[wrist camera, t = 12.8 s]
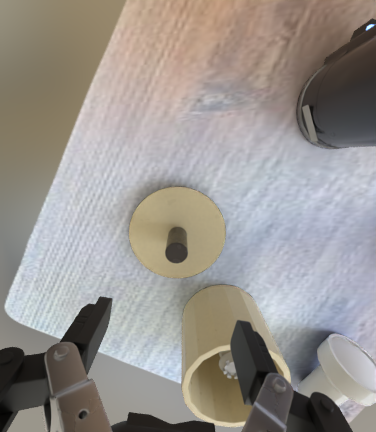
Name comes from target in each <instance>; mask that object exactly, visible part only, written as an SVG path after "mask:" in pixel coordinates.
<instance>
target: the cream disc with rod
mask: <svg viewBox="0 0 376 432" xmlns="http://www.w3.org/2000/svg"><path fill="white" fill-rule="evenodd" d="M225 236H226V230H225V223H224V219H223V217H222V214H221V212H220V211H219V209H218V208H217V206H216V205H215V203H214V202H213V201H212V200H211V199H210V198H208V197H207V196H206V195H204V194H203V193H201V192H199V191H197V190H194V189H191V188H187V187H167V188H164V189H160V190H158V191H156V192H154V193H152V194H150V195H149V196H148V197H146V198H145V199H144V200H143V201H142V202H141V203H140V204H139V206H138V207H137V208H136V210H135V212H134V213H133V216H132V218H131V222H130V226H129V239H130V244H131V247H132V250H133V252H134V254H135V255H136V257H137V258H138V260H139V261H140V262H141V263H142V264H143V265H144V266H145V267H146V268H148V269H149V270H151V271H152V272H154V273H156V274H158V275H161V276H164V277H168V278H187V277H191V276H194V275H197V274H199V273H201V272H203V271H204V270H206V269H207V268H209V267H210V266H211V265H212V264H213V263H214V262H215V261H216V260H217V258H218V257H219V255H220V253H221V251H222V249H223V246H224V243H225Z"/></svg>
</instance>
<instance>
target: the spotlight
mask: <svg viewBox="0 0 376 432" xmlns="http://www.w3.org/2000/svg"><path fill="white" fill-rule="evenodd" d="M317 354H318V360H319V363H320V365H319V366H318V367H317V368H315V369H314V370H313V371H312V372H311V373H310V374H309V375H308V376H307V377H306V378H305V379H303V380H302V381H301V382H300V383H299V385H298V393H300V394H303V395H305V396H307V397H309V398H310V396H311V394H312V393H313V392H320V393H323V394H325V395H327V396H328V397H329V398H331V399H332V400H333V401H334V402H335V403H336V404H337V406H338V407H339V406H340V405H342V404H343V403H344V402H346V401H347V400H348V399H351V400H353V401H355V402H356V403H358V404H362V405H366V406H370V405H372V404H374V403H376V361H375V360H374V359H373V358H372V356H371V355H370V354H369V353H368V352H367V351H366V350H364V349H363V348H362V347H361V346H360V345H358V344H357V343H356V342H354V341H353V340H351V339H349V338H347V337H346V336H343V335H340V334H330V335H329V336H328V337H327V338H326V339H325V340H324V341H323V342H322V343H321V344H320V346H319V347H318V349H317Z"/></svg>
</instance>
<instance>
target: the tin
mask: <svg viewBox="0 0 376 432" xmlns="http://www.w3.org/2000/svg"><path fill="white" fill-rule="evenodd" d="M237 320H242V321H248V322H250V323H251V326H252V328H253V330H254V331H257V332H258V333H259V334H260V335H261V337H262V338H263V339H264V341H265V344H266V347H267V348H268V350H269V353H270V355H271V357H272V359H273V362H274V364H275V366H276V368H277V371H278V373H279V375H281V376H283V377H284V378H285V379H287V381H288V382H289V383H290V384H291V379H290V370H289V368H288V366H287V364H286V362H285V360H284V358H283V356H282V354H281V352H280V350H279V348H278V346H277V344H276V342H275V340H274V338H273V336H272V334H271V332H270V330H269V328H268V326H267V324H266V322H265V320H264V318H263V316H262V314H261V312H260V310H259V308H258V306H257V304H256V303H255V301H254V299H253V298H252V297H251V296H250V295H249V294H248V293H247V292H245V291H244V290H242V289H240V288H238V287H235V286H231V285H214V286H210V287H207V288H204V289H202V290H200V291H199V292H197V293H196V294H195V295H194V296H192V298H191V299H190V300H189V301H188V303H187V304H186V306H185V308H184V311H183V318H182V385H181V387H182V392H183V396H184V400H185V403H186V405H187V406H188V407H189V409H190V410H191V411H192V412H193V413H194V414H195V415H196V416H197V417H198V418H200V419H202V420H204V421H206V422H209V423H214V425H219V426H226V427H238V426H244V425H245V422H246V420H247V418H248V416H249V413H250V411H251V409H252V406H251V405H244V401H243V397H242V393H241V389H240V385H239V381H238V378H237V379H235V378H234V375H231V379H230V378H227V375H226V374H225V375H224V372H223V371H222V370H221V369H220V367H219V360H220V356H219V352H220V351H226V350H231V349H230V342H231V337H232V334H233V331H234V328H235V325H236V322H237Z"/></svg>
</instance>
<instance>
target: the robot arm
mask: <svg viewBox="0 0 376 432" xmlns="http://www.w3.org/2000/svg"><path fill="white" fill-rule="evenodd" d="M297 120H298V124H299V127H300V130H301V132H302V133H303V135H304V136H305V138H306V139H307V140H308V141H309V142H311V143H312V144H314V145H316V146H318V147H321V148H325V149H339V148H348V147H368V146H376V20H375V19H371V20H369V21H368V22H367V23H365V24H364V25H362V26H361V27H360V28H358V29H357V30H355V31H354V33H353V35H352V38H351V40H350V42H349V43H347V44H346V45H344V46H343V47H341V48H340V49H338V50H337V51H335V52H334V53H332V54H331V55H329V56H328V57H326V59H325V62H324V65H323V67H322V68H320V69H319V70H317V71H316V72H315V73H314V74H313V75H312V76H311V77H310V78H309V79H308V81H307V82H306V84H305V85H304V87H303V89H302V91H301V93H300V96H299V100H298V104H297ZM111 307H112V298H107V297H101V296H100V297H99V299H98V301H97V302H96V304H95V305H94V304H88V305H86V306H85V307H83V308H82V309H81V311H80V312H79V314H78V315H77V317H76V318H75V320H74V322H73V323H72V324H71V326H70V327H69V329H68V330H67V332H66V333H65V335H64V336H63V338H62V339H61V341H60V343H57V344H55V345H53V346H52V347H50V348H49V349H48V350H47V352H45V353H41V354H34V355H26V356H24V352H23V350H22V349H20V348H17V347H9V348H5V349H2V350H0V432H7V430H8V428H9V427H10V425H11V423H12V422H13V420H14V418H15V416H16V415H17V413H18V411H19V410H24V409H28V408H33V407H38V406H42V411H43V417H44V424H45V431H46V432H215V425H214V423H209V422H201V421H189V422H184V423H178V424H169V423H167V422H165V421H163V420H160V419H158V418H156V417H154V416H151V415H147V414H138V413H131V412H129V414H128V419H127V421H123V422H120V423H117V424H114V425H112V426H110V423H109V420H108V418H107V415H106V412H105V409H104V407H103V404H102V401H101V399H100V396H99V393H98V390H97V388H96V385H95V382H94V381H93V379H90V380H89V379H88V377H87V374H88V372H89V370H90V367H91V365H92V363H93V360H94V358H95V356H96V353H97V351H98V349H99V347H100V344H101V342H102V340H103V337H104V335H105V333H106V330H107V328H108V324H109V320H110V314H111ZM230 349H231V354H232V358H233V361H234V365H235V369H236V373H237V377H238V381H239V385H240V389H241V393H242V397H243V401H244V405H251V406H252V409H251V411H250V413H249V416H248V418H247V420H246V422H245V425H244V427H243V429H242V432H353V431H352V429H351V428H350V426H349V424H348V422H347V421H346V419H345V417H344V416H343V414H342V412H341V410H340V409H339V407H338V406H337V404H336V403H335V402H334V401H333V400H332V399H331V398H329V397H328V396H327V395H325V394H323V393H320V392H313V393H312V394H311V396H310V398H309V397H307V396H305V395H303V394H300V393H298V392H296V391H294V390H293V388H292V386H291V384H290V383H289V382H288V381H287V379H285V378H284V377H283V376H281V375H279V373H278V371H277V368H276V366H275V364H274V362H273V359H272V357H271V355H270V353H269V350H268V348H267V347H266V344H265V341H264V339H263V338H262V337H261V335H260V334H259V333H258V332H257V331H254V330H253V328H252V326H251V323H250V322H248V321H242V320H237V322H236V325H235V328H234V331H233V334H232V337H231V342H230Z"/></svg>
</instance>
